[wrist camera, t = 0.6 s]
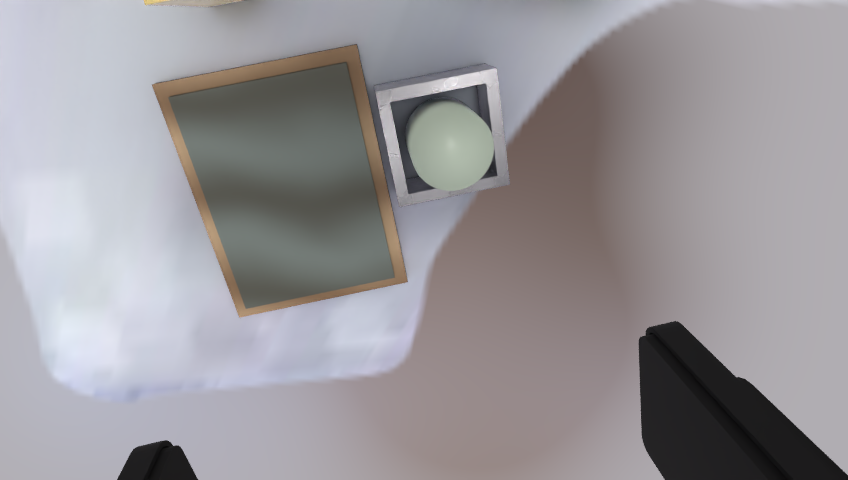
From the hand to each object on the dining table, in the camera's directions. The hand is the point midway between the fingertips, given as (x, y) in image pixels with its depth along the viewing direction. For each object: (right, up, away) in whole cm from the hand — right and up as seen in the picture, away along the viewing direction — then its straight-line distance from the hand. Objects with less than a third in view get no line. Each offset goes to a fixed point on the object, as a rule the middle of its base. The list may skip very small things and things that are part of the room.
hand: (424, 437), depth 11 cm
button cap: (+1, +10, +22) cm, 24 cm away
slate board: (-9, +7, +24) cm, 26 cm away
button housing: (+1, +11, +23) cm, 26 cm away
